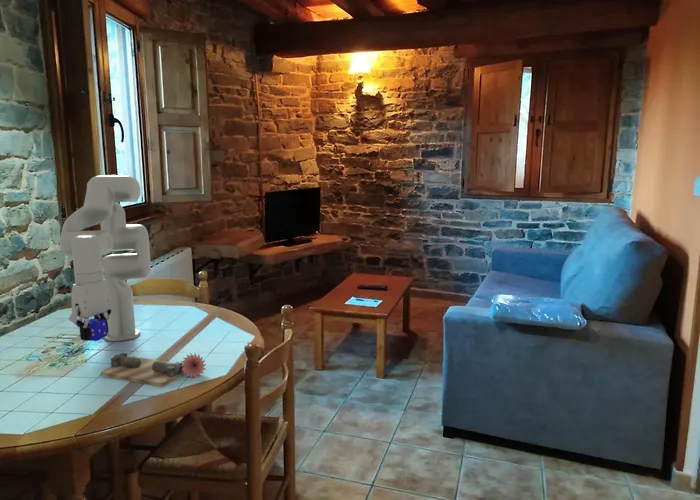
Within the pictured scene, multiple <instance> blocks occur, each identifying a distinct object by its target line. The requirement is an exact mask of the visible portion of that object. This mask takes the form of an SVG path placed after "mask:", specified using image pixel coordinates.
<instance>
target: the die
mask: <svg viewBox="0 0 700 500" xmlns="http://www.w3.org/2000/svg"><path fill="white" fill-rule="evenodd" d="M87 327H89V330H90V340H89V341H91V342H92V341H93V342H98V341H100V340H102V339H103V338H104V337H105V336H107V327H106V320H105V319H94V318H89V321H88V325H87Z"/></svg>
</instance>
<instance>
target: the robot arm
mask: <svg viewBox="0 0 700 500" xmlns="http://www.w3.org/2000/svg"><path fill="white" fill-rule="evenodd" d="M140 197H141V186H140V183H139V181H138V179H137V178H135V177H133V176H131V175H125V174H118V175H116V174H111V175H110V174H109V175H107V174H106V175H102V174H101V175H96V176H93V177H92V178H90V179H89V180H88V182H87V184H86V193H85V197H84V201H83V206H81V207H79V209H77V210H75V211H74V212H73V213H71V214H70V215H69V216H68V217H66V219H65V221H64V223H63V224H62V225H63V226H62V230H61V233H60V239H59V246H60V247H59V248H60V251H61V252H62V254H63V255H64V256H67V257H72V265H73V272H74V273H73V275H74V283H73V284H72V288H71V314H70V315H69V318H68V321H70V322H71V323H73V324H74V325H76V327H78V328H79V335H80V340H82V341H90V330H89V327H87V325H88V321H89V320H90V318H91V317H94V316H95V315H98V316H99V318H100V319H105V320H106V327H107V336H105V337H103V338H104V340H106V341H109V342H124V341H129V340H132V339H135V338H137V337H139V336H140V335H141V330H140V329H139V328H136V320H135V309H134V294H133V292H134V291H133V289H132V287H131V286H130V284H129V283H128V282H127V281H126V280H139V279H140V280H141V279H146V278H148V277H150V274H151V270H152V265H151V252H150V250H151V249H150V239H149V238H150V237H149V233H148V230H147V228H146V226H144V225H143V224H137V223H135V224H133V223H132V224H127V222H126V221H127V220H126V212H125V208H123V206H122V205H121V204H120V203H131V202H137V201H138V200H139V199H140ZM95 225H100V230H99V229H98V230H85V229H88V228H90V227H93V226H95ZM111 251H113V252H115V251H116V252H118V251H119V252H121V251H135V252H136V253H135V252H134V253H113V254H109V253H110V252H111ZM108 254H109V255H108ZM102 256H103V257H102Z"/></svg>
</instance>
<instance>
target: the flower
mask: <svg viewBox="0 0 700 500" xmlns="http://www.w3.org/2000/svg"><path fill="white" fill-rule="evenodd" d="M189 354H190V355H188V354H186V357H183V359H184V360H181V363H182V365H181V366H183V367H182V370H184V375H185V374H186V377H187V378H188V377H191V378H197V376H201V375H202V374H203V373H204V370H207V368H206V367H205V366H206V365H207V364H206V363H205V362H206V360H205V359H204V360H203V356H200V354H196V353H194V354H193V353H191V352H190V353H189Z"/></svg>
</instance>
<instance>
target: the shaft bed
mask: <svg viewBox="0 0 700 500" xmlns="http://www.w3.org/2000/svg"><path fill="white" fill-rule="evenodd" d="M182 364H183V362H179V361H176V362H171V361H164V360H158V359H152V358H146V357H140V356H134V355H133V356H128V353H127V352H126V353H125V352H121V353H119V354H117V353H116V354H114V355H113V356H112V357H110V366H109V367H108V368H105V369H103V370H101V371H100V376H102V377H107V378H113V379H117V380H123V381H127V382H128V381H129V382H133V383H139V384H142V385H143V384H144V385H150V386H155V387H159V388H163V387H165V386H167V385H169V384H170V383H173V381H175V380H177V379H179V378H181V377H182V376H183V375H185V374H184V370H182V367H183V366H181V365H182Z"/></svg>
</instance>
